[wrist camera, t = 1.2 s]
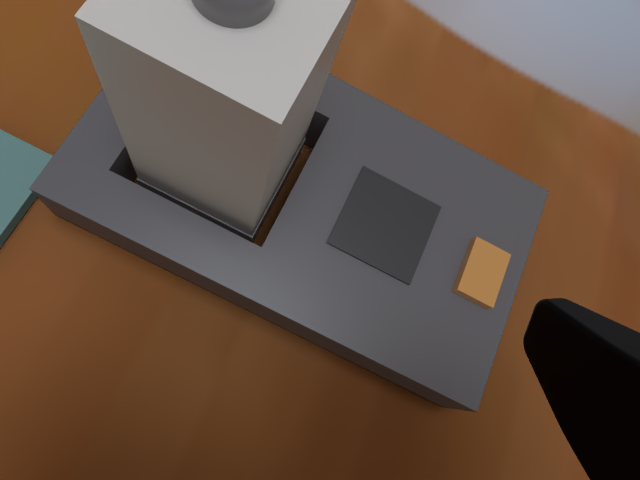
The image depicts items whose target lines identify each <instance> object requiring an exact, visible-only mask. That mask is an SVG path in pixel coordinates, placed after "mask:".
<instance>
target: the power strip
mask: <svg viewBox="0 0 640 480" xmlns="http://www.w3.org/2000/svg"><path fill="white" fill-rule="evenodd" d="M305 138H306V140H305V142H304V144H306V145H308V146H310V147H312V148H314V149H313V151H312V153H311V154H310V156H309V158H308V160H307V162H306V164H305V166H304V168H303V170H302V172H301V173H300V175H299V177H298V179H297V181H296V183H295V185H294V187H293V189H292V191H291V192H290V194H289V196H288V198H287V200H286V202H285V204H284V206H283V208H282V210H281V211H280V213H279V215H278V217H277V219H276V221H275V223H274V225H273V227H272V229H271V230H270V232H269V234H268V236H267V238H266V240H265V242H264V244H263V246H262V247H260V246H258V245H256V244H254V243H252V242H250V241H248V240H246V239H244V238H242V237H240V236H238V235H236V234H234V233H232V232H230V231H228V230H226V229H224V228H222V227H220V226H218V225H217V224H215V223H213V222H211V221H209V220H207V219H205V218H203V217H201V216H199V215H197V214H195V213H193V212H191V211H189V210H187V209H185V208H183V207H181V206H179V205H177V204H175V203H173V202H171V201H169V200H167V199H165V198H163V197H161V196H159V195H157V194H155V193H153V192H151V191H149V190H147V189H145V188H143V187H142V186H140V185H138V184H136V183H134V181H135V179H136V178H137V174H136V171H135V169H134V166H133V164H132V161H131V159H130V156H129V154H128V151H127V149H126V146H125V144H124V141H123V138H122V136H121V133H120V131H119V128H118V126H117V123H116V121H115V118H114V116H113V113H112V111H111V108H110V106H109V103H108V100H107V98H106V95H105V93H104V90H103V88H102V90H101V91H100V92H99V94H98V95H97V97H96V98H95V99H94V101H93V102H92V103H91V105H90V106H89V107H88V109H87V110H86V112H85V113H84V114H83V116H82V117H81V118H80V120H79V121H78V122H77V124H76V125H75V127H74V128H73V129H72V131H71V132H70V133H69V135H68V136H67V137H66V139H65V140H64V142H63V143H62V144H61V146H60V147H59V148H58V150H57V151H56V152H55V154H54V155H53V157H52V158H51V159H50V161H49V162H48V163H47V165H46V166H45V167H44V169H43V170H42V172H41V173H40V174H39V176H38V177H37V178H36V180H35V181H34V182H33V184H32V185H31V187H30V188H29V189H30V190H31V191H32V192H33V193H34V194H35V195H36V196H37V197H38V198H39V199H40V200H41V201H42V202H43V203H44V204H45V205H46V206H47V207H48V208H49V209H50V210H51V211H52V212H53V213H54V214H55V215H57V216H59V217H61V218H63V219H65V220H67V221H69V222H71V223H73V224H75V225H77V226H79V227H81V228H83V229H85V230H87V231H89V232H91V233H93V234H95V235H97V236H99V237H101V238H103V239H105V240H107V241H109V242H111V243H113V244H115V245H117V246H119V247H121V248H123V249H125V250H127V251H129V252H131V253H133V254H135V255H137V256H139V257H141V258H143V259H145V260H147V261H149V262H151V263H153V264H155V265H157V266H159V267H161V268H163V269H165V270H167V271H169V272H171V273H173V274H175V275H177V276H179V277H181V278H183V279H185V280H187V281H189V282H191V283H193V284H196V285H198V286H200V287H202V288H204V289H206V290H208V291H210V292H212V293H214V294H216V295H218V296H220V297H222V298H224V299H226V300H228V301H230V302H232V303H234V304H236V305H238V306H240V307H242V308H244V309H246V310H248V311H250V312H252V313H254V314H256V315H258V316H260V317H262V318H264V319H266V320H268V321H270V322H272V323H274V324H276V325H278V326H280V327H282V328H284V329H286V330H288V331H290V332H292V333H294V334H296V335H298V336H300V337H302V338H304V339H306V340H308V341H310V342H312V343H314V344H316V345H318V346H320V347H322V348H324V349H326V350H328V351H330V352H332V353H334V354H336V355H338V356H341V357H343V358H345V359H347V360H349V361H351V362H353V363H355V364H357V365H359V366H361V367H363V368H365V369H367V370H369V371H371V372H373V373H375V374H377V375H379V376H381V377H383V378H385V379H387V380H389V381H391V382H393V383H395V384H397V385H399V386H401V387H403V388H405V389H407V390H409V391H411V392H413V393H415V394H417V395H419V396H421V397H423V398H425V399H427V400H429V401H431V402H433V403H435V404H437V405H439V406H441V407H446V408H453V409H460V410H467V411H474V412H477V411H478V407H479V404H480V401H481V398H482V395H483V392H484V389H485V386H486V383H487V380H488V377H489V374H490V370H491V367H492V364H493V361H494V358H495V355H496V352H497V349H498V346H499V343H500V340H501V337H502V333H503V330H504V327H505V324H506V321H507V318H508V315H509V312H510V309H511V306H512V303H513V300H514V296H515V293H516V290H517V287H518V284H519V281H520V278H521V275H522V272H523V269H524V266H525V263H526V259H527V256H528V253H529V250H530V247H531V244H532V241H533V238H534V235H535V232H536V229H537V226H538V222H539V219H540V216H541V213H542V210H543V207H544V204H545V201H546V198H547V195H548V192H549V191H547V190H546V189H544V188H542V187H540V186H538V185H536V184H534V183H533V182H531V181H529V180H527V179H525V178H523V177H521V176H520V175H518V174H516V173H514V172H512V171H510V170H508V169H506V168H505V167H503V166H501V165H499V164H497V163H495V162H493V161H492V160H490V159H488V158H486V157H484V156H482V155H480V154H479V153H477V152H475V151H473V150H471V149H469V148H467V147H465V146H464V145H462V144H460V143H458V142H456V141H454V140H452V139H451V138H449V137H447V136H445V135H443V134H441V133H439V132H438V131H436V130H434V129H432V128H430V127H428V126H426V125H425V124H423V123H421V122H419V121H417V120H415V119H413V118H411V117H410V116H408V115H406V114H404V113H402V112H400V111H398V110H397V109H395V108H393V107H391V106H389V105H387V104H385V103H384V102H382V101H380V100H378V99H376V98H374V97H372V96H371V95H369V94H367V93H365V92H363V91H361V90H359V89H357V88H356V87H354V86H352V85H350V84H348V83H346V82H344V81H343V80H341V79H339V78H337V77H335V76H333V75H331V74H330V73H329V75H328V77H327V80H326V83H325V85H324V88H323V91H322V93H321V96H320V99H319V101H318V104H317V107H316V109H315V112H314V115H313V117H312V120H311V123H310V125H309V128H308V131H307V133H306V136H305Z"/></svg>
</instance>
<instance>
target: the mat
mask: <svg viewBox="0 0 640 480" xmlns="http://www.w3.org/2000/svg"><path fill="white" fill-rule="evenodd" d="M52 157H53V156H52V155H50V154H48V153H46V152H44V151H42V150H40V149H38V148H36V147H34V146H32V145H30V144H28V143H26V142H24V141H22V140H20V139H18V138H16V137H14V136H12V135H10V134H8V133H6V132H5V131H3V130H1V129H0V248H1V246H2V245H3V244H4V242H5V241H6V240H7V238H8V237H9V235H10V234H11V233H12V231H13V230H14V228H15V227H16V226H17V224H18V223H19V222H20V220H21V219H22V217H23V216H24V215H25V213H26V212H27V210H28V209H29V208H30V206H31V205H32V204H33V202H34V201H35V199H36V198H37V196H36V195H35V194H34V193H33V192H32V191H31V190H30V189H29V188H30V187H31V185H32V184H33V182H34V181H35V180H36V178H37V177H38V176H39V174H40V173H41V172H42V170H43V169H44V167H45V166H46V165H47V163H48V162H49V161H50V159H51V158H52Z"/></svg>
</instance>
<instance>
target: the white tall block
mask: <svg viewBox="0 0 640 480" xmlns="http://www.w3.org/2000/svg"><path fill="white" fill-rule="evenodd" d="M355 3H356V0H87V1H86V2H85V3H84V4H83V6H82V7H81V8H80V9H79V10H78V12H77V13H76V14H75V15H74V17H75V19H76V22H77V24H78V27H79V29H80V32H81V34H82V37H83V40H84V42H85V45H86V47H87V50H88V52H89V55H90V57H91V60H92V62H93V65H94V67H95V70H96V73H97V75H98V78H99V80H100V83H101V85H102V88H103V90H104V93H105V95H106V98H107V100H108V103H109V106H110V108H111V111H112V113H113V116H114V118H115V121H116V123H117V126H118V128H119V131H120V133H121V136H122V138H123V141H124V144H125V146H126V149H127V151H128V154H129V156H130V159H131V161H132V164H133V166H134V169H135V171H136V174H137V177H138V178H137V182H138V184H139V185H140V186H142V187H143V188H145V189H147V190H149V191H151V192H153V193H155V194H157V195H159V196H161V197H163V198H165V199H167V200H169V201H171V202H173V203H175V204H177V205H179V206H181V207H183V208H185V209H187V210H189V211H191V212H193V213H195V214H197V215H199V216H201V217H203V218H205V219H207V220H209V221H211V222H213V223H215V224H217V225H218V226H220V227H222V228H224V229H226V230H228V231H230V232H232V233H234V234H236V235H238V236H240V237H242V238H244V239H246V240H248V241H250V242H252V243H253V241H254V239H255V237H256V235H257V233H258V231H259V230H260V228H261V226H262V224H263V222H264V220H265V218H266V217H267V215H268V213H269V211H270V209H271V207H272V205H273V203H274V202H275V200H276V198H277V196H278V194H279V192H280V190H281V188H282V187H283V185H284V183H285V181H286V179H287V177H288V175H289V174H290V172H291V170H292V168H293V166H294V164H295V162H296V160H297V159H298V157H299V155H300V153H301V150H302V147H303V145H304V142H305V140H306V138H305V136H306V133H307V131H308V128H309V125H310V123H311V120H312V117H313V115H314V112H315V109H316V107H317V104H318V101H319V99H320V96H321V93H322V91H323V88H324V85H325V83H326V80H327V77H328V75H329V72H330V69H331V67H332V64H333V62H334V59H335V56H336V54H337V51H338V48H339V46H340V43H341V40H342V38H343V35H344V32H345V30H346V27H347V24H348V22H349V19H350V16H351V14H352V11H353V8H354V6H355Z"/></svg>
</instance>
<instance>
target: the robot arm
mask: <svg viewBox="0 0 640 480" xmlns="http://www.w3.org/2000/svg"><path fill="white" fill-rule="evenodd" d="M523 343H524V349H525V352H526V355H527V357H528V359H529V361H530V363H531V365H532V368H533V370H534V372H535V374H536V376H537V378H538V380H539V383H540V385H541V387H542V389H543V391H544V393H545V396H546V398H547V400H548V402H549V404H550V406H551V408H552V411H553V413H554V415H555V417H556V419H557V421H558V423H559V425H560V427H561V429H562V431H563V433H564V435H565V437H566V439H567V441H568V442H569V444H570V446H571V448H572V449H573V451H574V453H575V455H576V456H577V458H578V460H579V461H580V463H581V465H582V467H583V468H584V470H585V472H586V473H587V475H588V477H589V479H590V480H640V333H639V332H637V331H634V330H632V329H630V328H628V327H626V326H624V325H621V324H619V323H617V322H615V321H613V320H611V319H608V318H606V317H604V316H602V315H600V314H598V313H595V312H593V311H591V310H589V309H587V308H585V307H582V306H580V305H578V304H576V303H574V302H572V301H570V300H567V299H563V298H554V299H543V300H541V301H539V302H538V303H537V304H536V306H535V308H534V310H533V313H532V316H531V319H530V321H529V324H528V327H527V329H526V332H525V335H524V340H523Z"/></svg>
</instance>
